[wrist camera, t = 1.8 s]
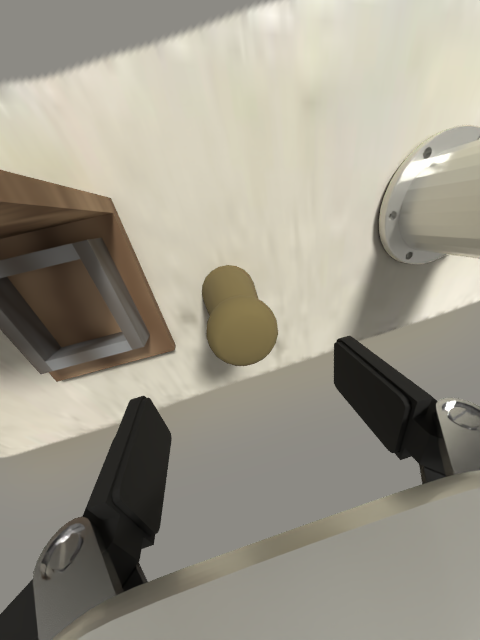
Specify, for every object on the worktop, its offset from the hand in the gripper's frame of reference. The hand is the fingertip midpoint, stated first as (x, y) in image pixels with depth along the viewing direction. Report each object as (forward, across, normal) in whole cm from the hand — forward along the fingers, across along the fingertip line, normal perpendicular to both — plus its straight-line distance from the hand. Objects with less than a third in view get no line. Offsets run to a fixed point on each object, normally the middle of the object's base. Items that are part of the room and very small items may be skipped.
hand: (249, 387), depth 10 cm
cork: (+15, -1, 0) cm, 15 cm away
